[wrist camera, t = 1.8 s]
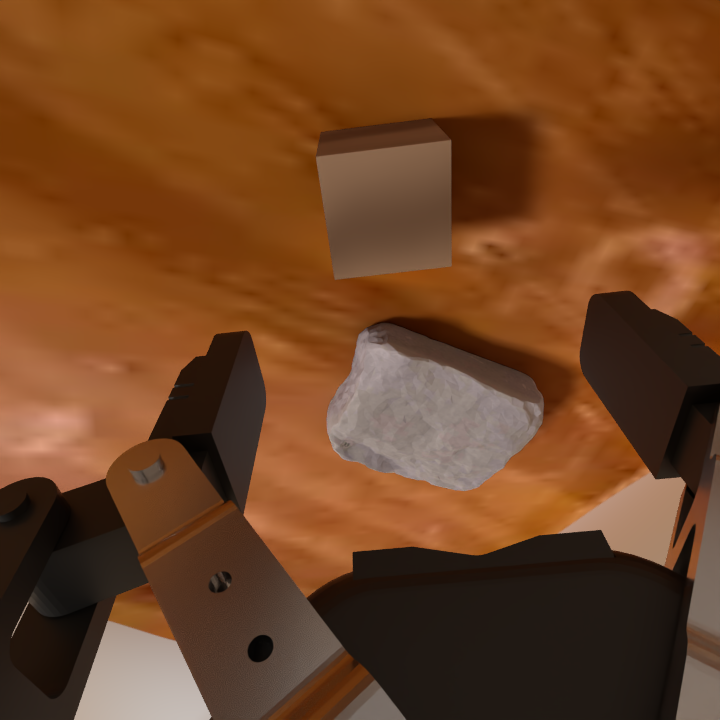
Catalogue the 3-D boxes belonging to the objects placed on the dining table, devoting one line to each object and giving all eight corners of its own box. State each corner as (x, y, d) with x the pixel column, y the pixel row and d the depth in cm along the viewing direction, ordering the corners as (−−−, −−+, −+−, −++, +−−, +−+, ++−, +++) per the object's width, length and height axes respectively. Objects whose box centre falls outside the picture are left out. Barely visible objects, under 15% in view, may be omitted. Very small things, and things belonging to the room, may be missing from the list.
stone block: (463, 450, 37) (549, 367, 30) (467, 508, 33) (566, 430, 27) (315, 401, 34) (373, 298, 27) (304, 459, 31) (367, 358, 24)
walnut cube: (320, 131, 22) (315, 156, 18) (431, 117, 22) (451, 139, 18) (336, 237, 25) (334, 279, 21) (433, 225, 25) (451, 266, 21)
